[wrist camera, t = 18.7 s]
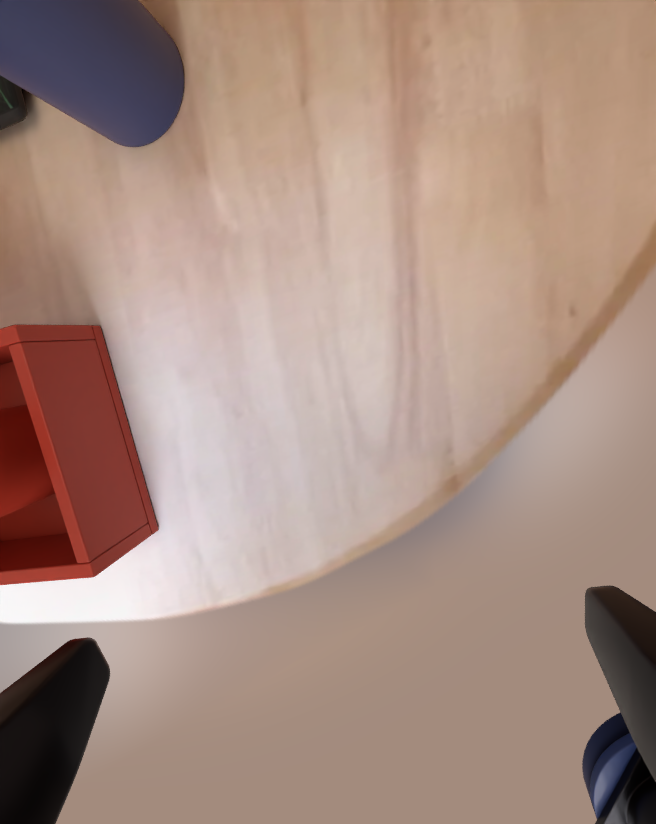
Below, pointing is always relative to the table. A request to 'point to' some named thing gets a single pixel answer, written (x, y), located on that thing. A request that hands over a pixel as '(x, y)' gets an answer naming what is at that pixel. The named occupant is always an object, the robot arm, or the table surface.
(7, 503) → the red cylinder
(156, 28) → the navy cylinder
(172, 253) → the table surface
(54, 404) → the red bin
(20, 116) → the smartphone
